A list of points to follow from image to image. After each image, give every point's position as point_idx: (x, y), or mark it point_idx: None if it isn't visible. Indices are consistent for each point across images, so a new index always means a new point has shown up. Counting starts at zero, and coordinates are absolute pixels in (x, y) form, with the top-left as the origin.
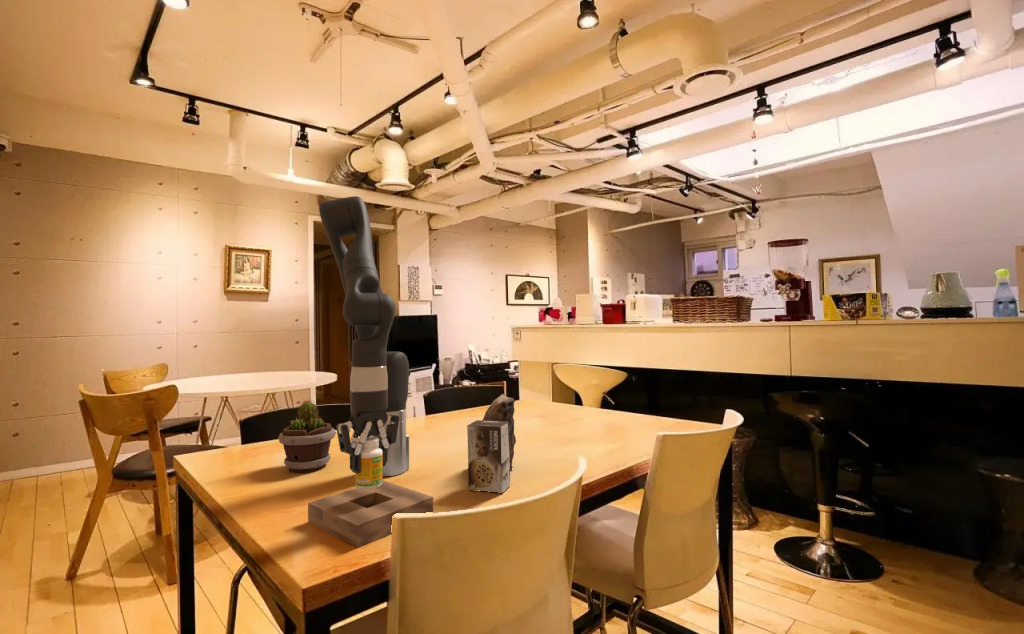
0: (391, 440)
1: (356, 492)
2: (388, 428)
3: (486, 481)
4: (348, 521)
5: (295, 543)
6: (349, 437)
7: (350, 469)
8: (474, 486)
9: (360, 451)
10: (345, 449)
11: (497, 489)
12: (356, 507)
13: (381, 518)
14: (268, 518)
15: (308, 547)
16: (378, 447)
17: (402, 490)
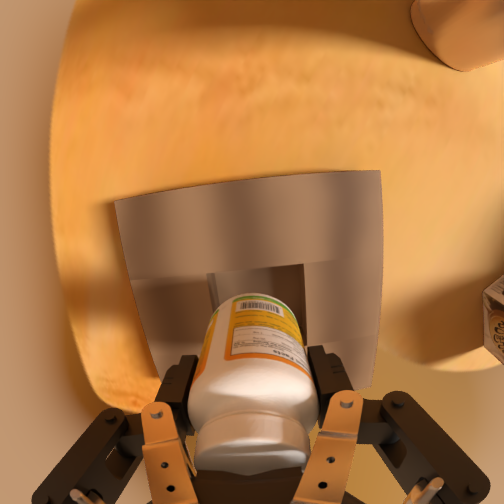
0: (374, 446)
1: (257, 220)
2: (413, 464)
3: (495, 334)
4: (161, 380)
5: (95, 284)
6: (115, 498)
7: (172, 365)
8: (488, 307)
9: (199, 429)
10: (114, 452)
11: (487, 344)
12: (202, 332)
13: None
14: (87, 110)
15: (111, 317)
16: (305, 428)
17: (363, 306)
